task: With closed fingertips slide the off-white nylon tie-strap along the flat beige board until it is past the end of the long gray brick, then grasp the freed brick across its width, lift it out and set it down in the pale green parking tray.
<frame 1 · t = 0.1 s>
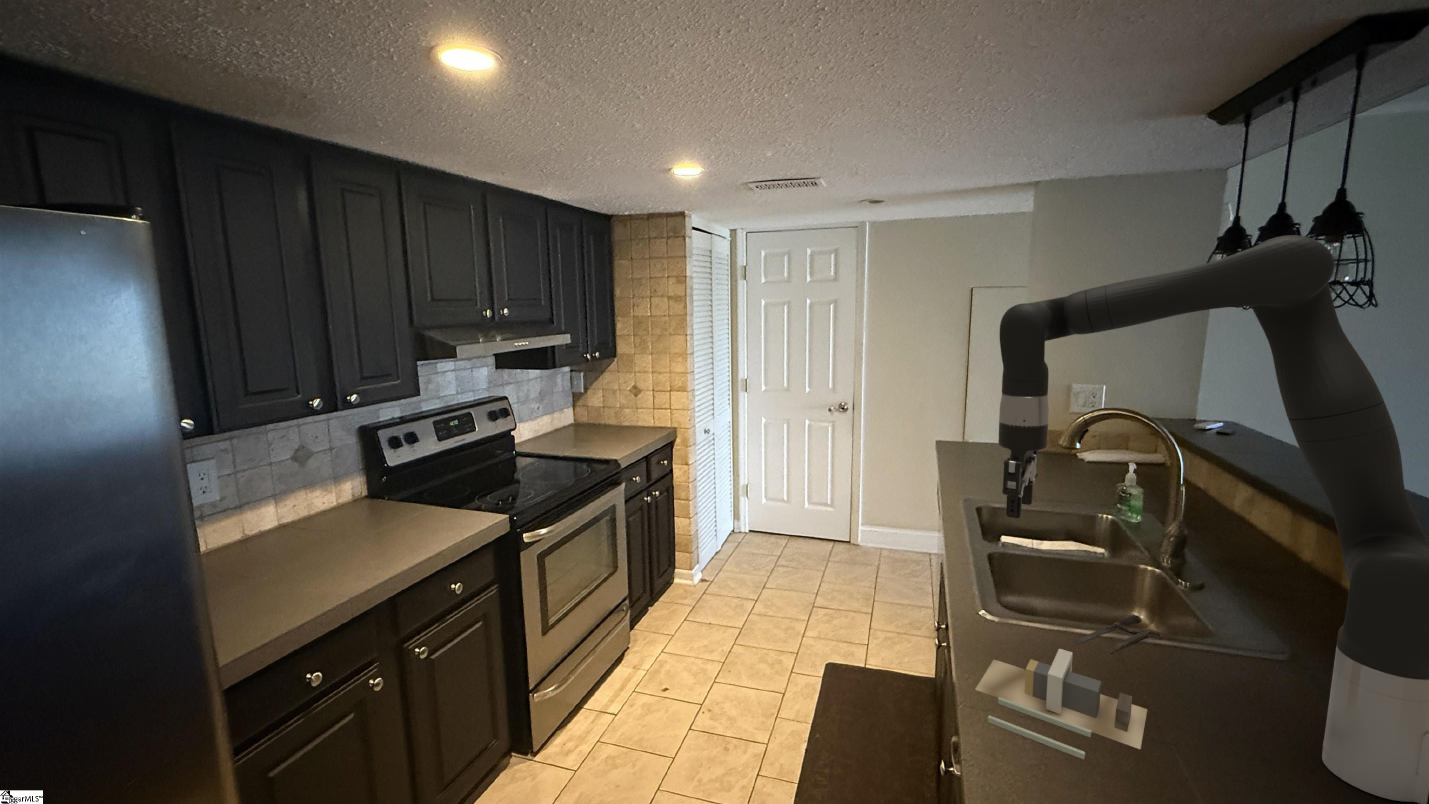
hand: (1019, 510, 105), 29 cm above the countertop, fingers open, 8 cm apart
flat beige board: (1058, 702, 98), on the countertop
long gray brick: (1065, 701, 98), point 1 cm above the countertop, touching flat beige board
strap: (1059, 680, 98), point 4 cm above the countertop, slide at 0.0 cm
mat: (1038, 731, 92), on the countertop
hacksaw: (1121, 646, 114), on the countertop
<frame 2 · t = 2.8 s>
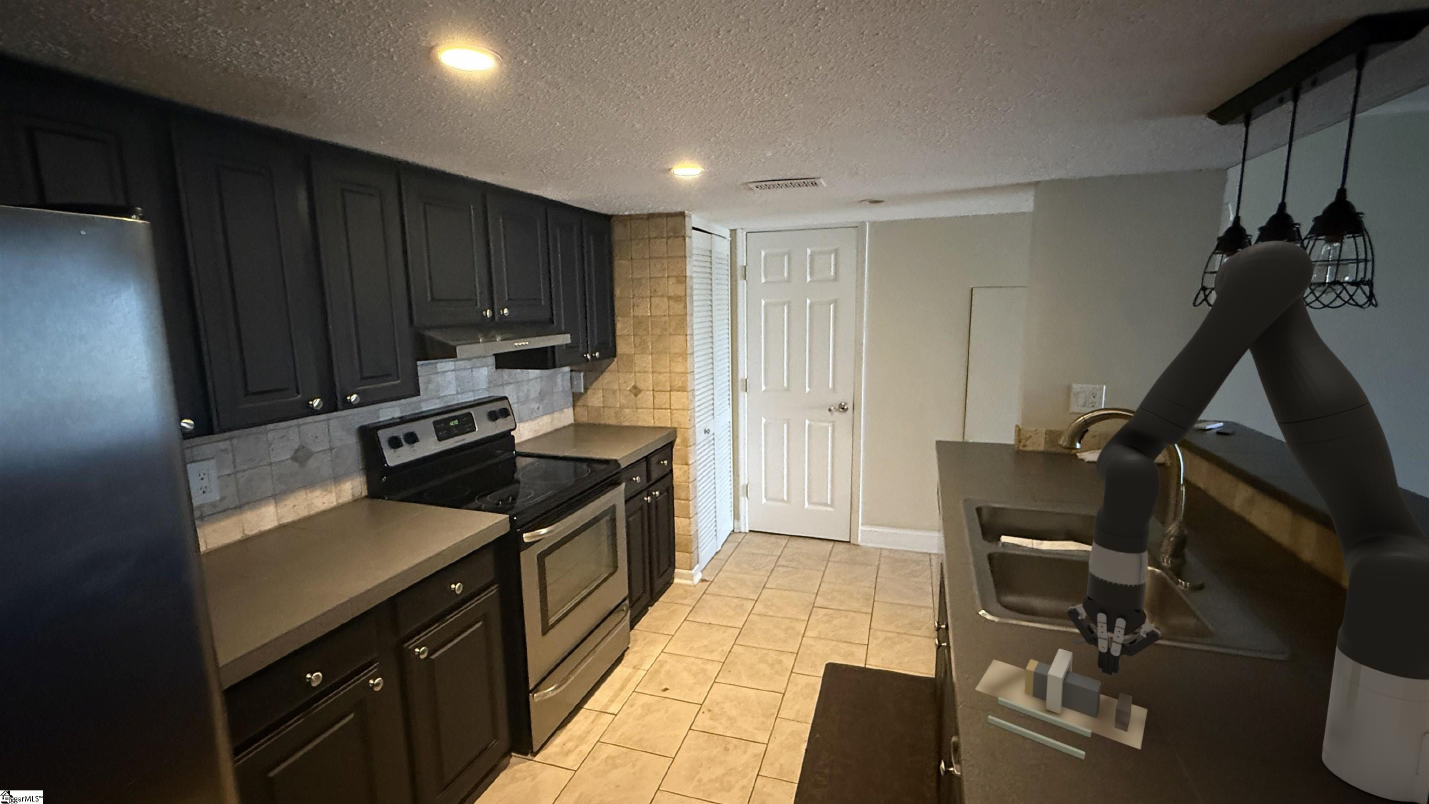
hand: (1107, 671, 97), 6 cm above the countertop, fingers closed
nothing on the countertop moved.
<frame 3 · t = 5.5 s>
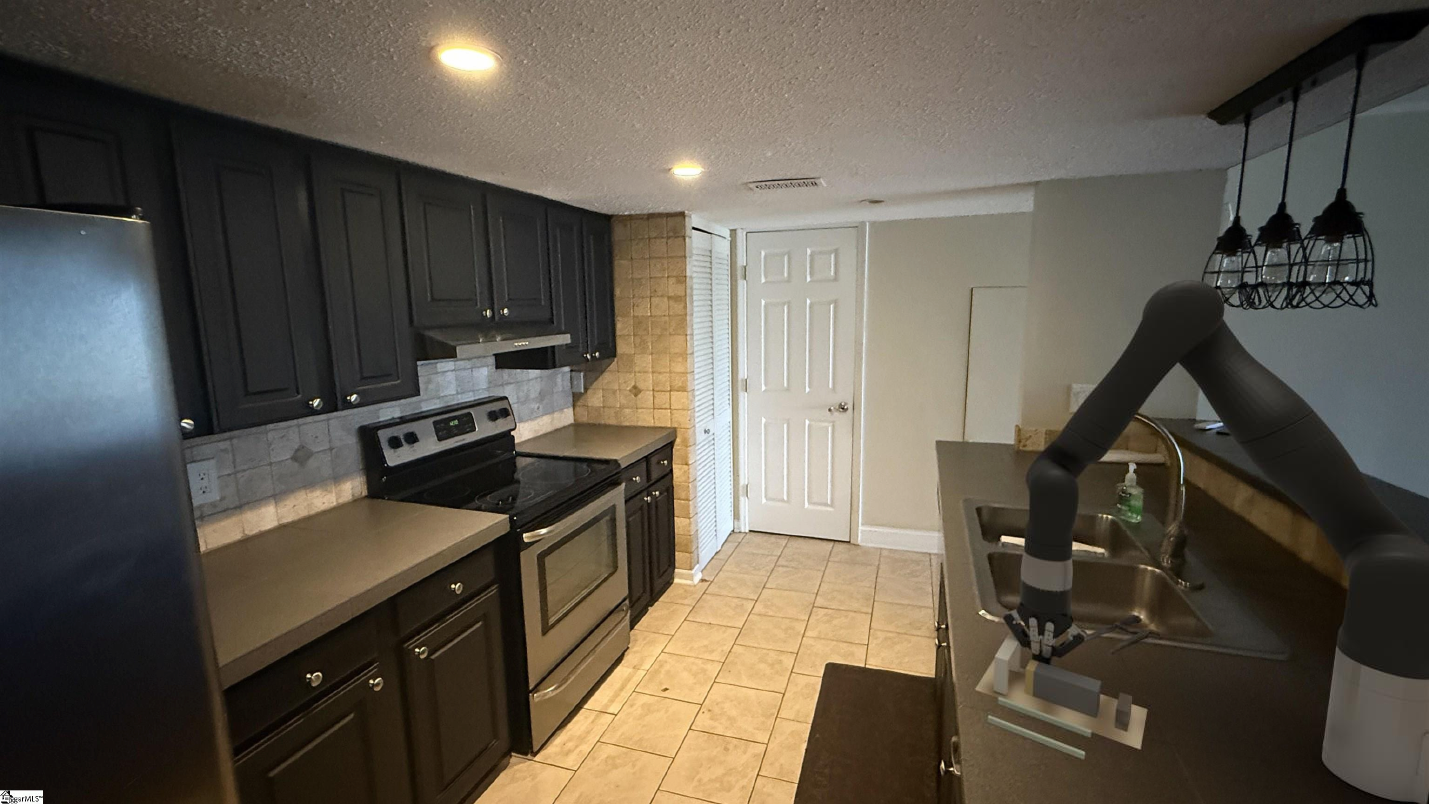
hand: (1041, 672, 103), 2 cm above the countertop, fingers closed
strap: (1007, 663, 103), point 4 cm above the countertop, slide at 7.9 cm, touching hand
everything else where it was.
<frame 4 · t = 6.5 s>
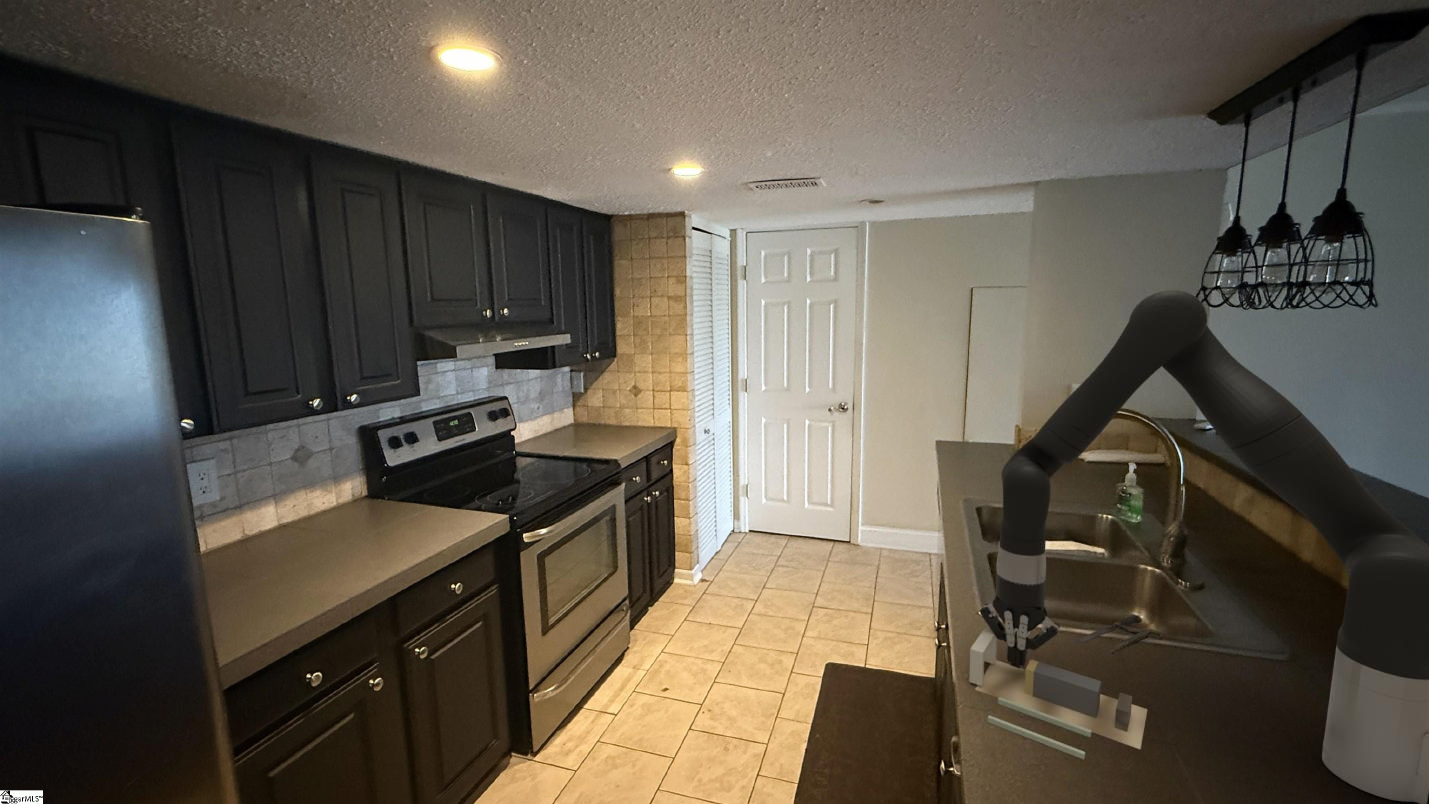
hand: (1016, 664, 106), 2 cm above the countertop, fingers closed
strap: (983, 655, 105), point 4 cm above the countertop, slide at 11.8 cm, touching hand
everything else where it was.
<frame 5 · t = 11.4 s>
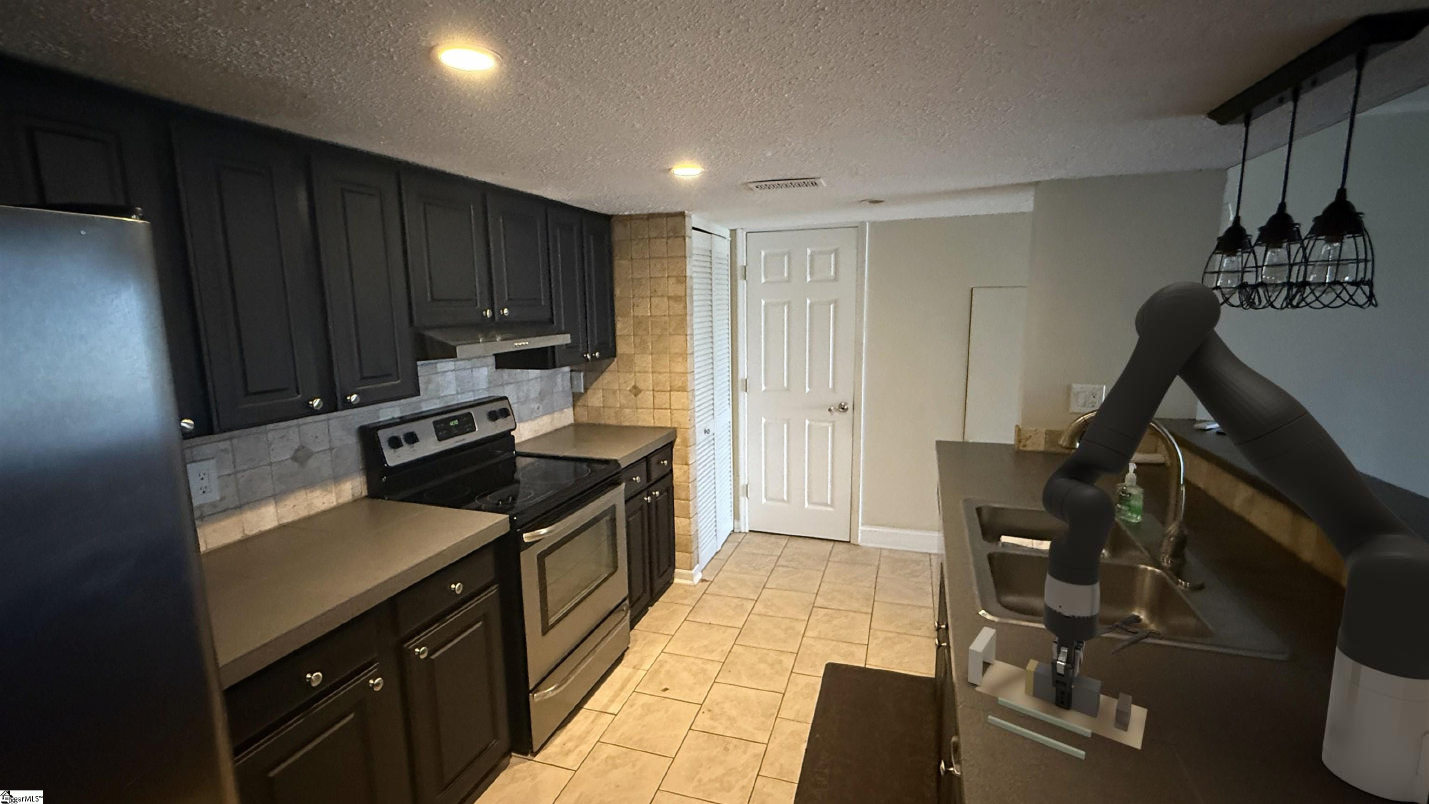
hand: (1065, 700, 98), 1 cm above the countertop, fingers closed on long gray brick, 3 cm apart
long gray brick: (1065, 701, 98), point 1 cm above the countertop, touching gripper, flat beige board
strap: (982, 655, 105), point 4 cm above the countertop, slide at 12.0 cm
everything else where it was.
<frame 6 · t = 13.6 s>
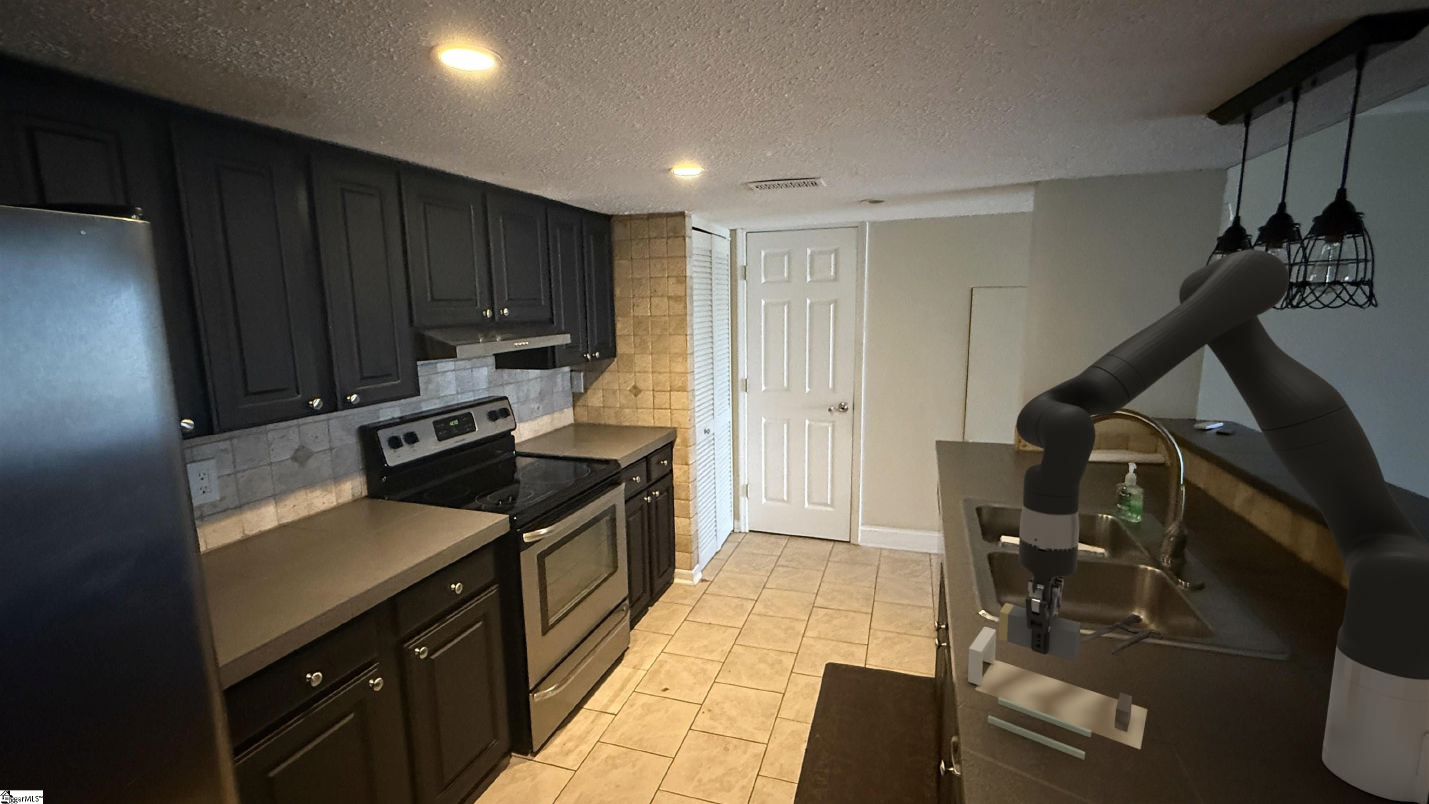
hand: (1042, 645, 90), 14 cm above the countertop, fingers closed on long gray brick, 3 cm apart
long gray brick: (1042, 646, 90), point 14 cm above the countertop, touching gripper
everything else where it was.
when the fingers open (2 cm above the countertop, at t = 16.1 s): long gray brick drops 1 cm, resting on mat.
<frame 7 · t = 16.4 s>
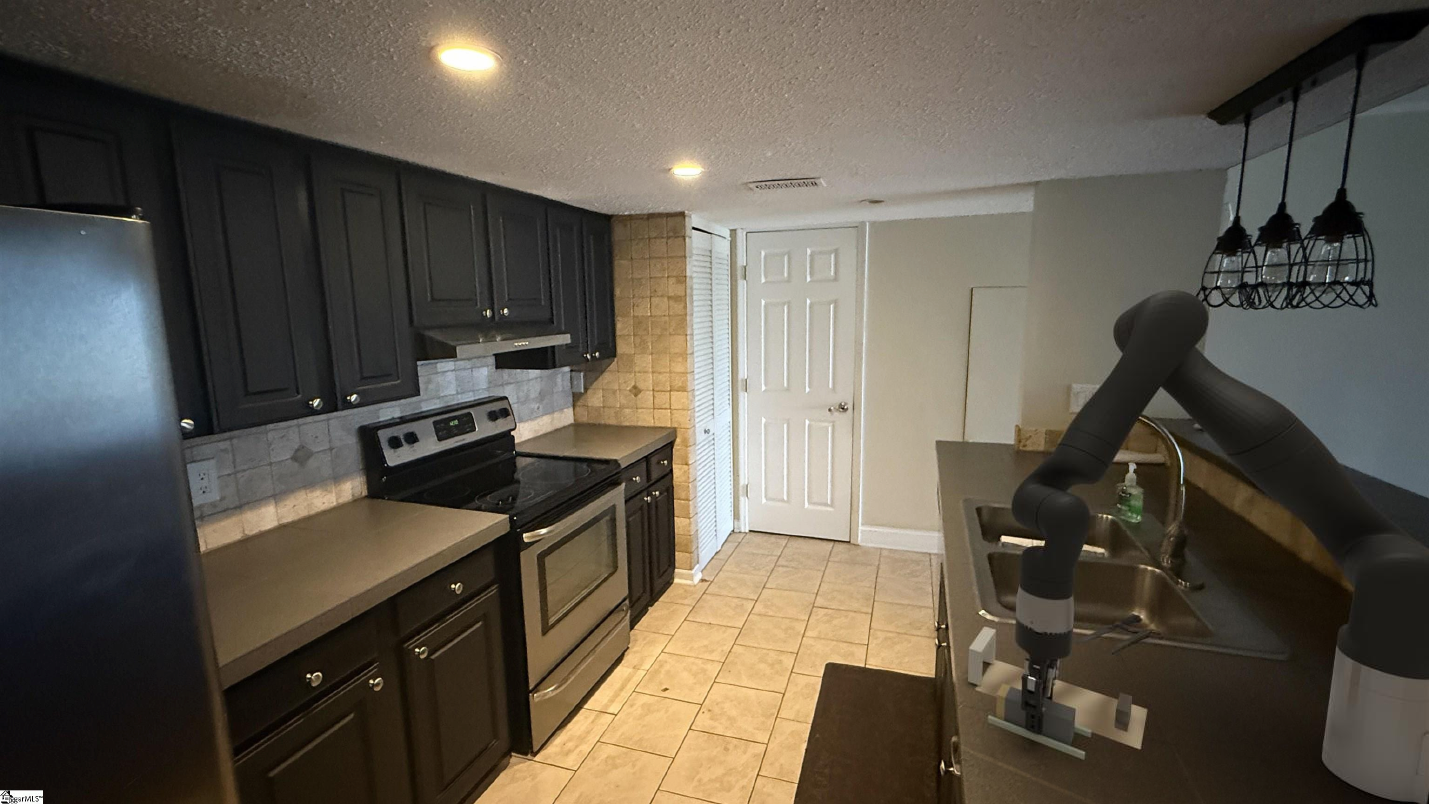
hand: (1038, 718, 91), 2 cm above the countertop, fingers open, 6 cm apart
long gray brick: (1038, 729, 92), resting on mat
everything else where it was.
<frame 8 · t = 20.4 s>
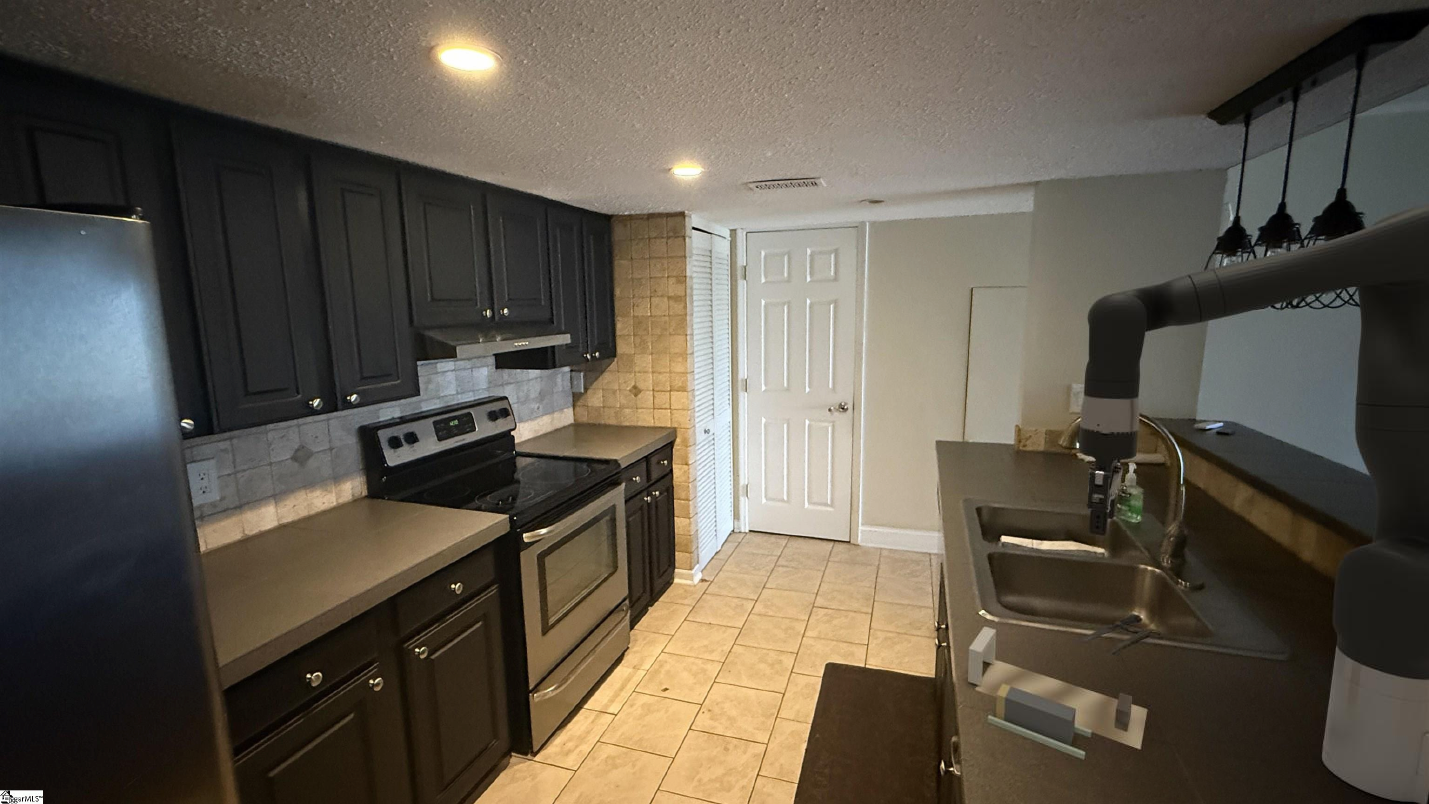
hand: (1102, 525, 94), 30 cm above the countertop, fingers open, 8 cm apart
nothing on the countertop moved.
at the end: strap slide at 12.0 cm; long gray brick inside the target area on the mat (0.0 cm from its centre), point 0.4 cm above the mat's base; the gripper is holding nothing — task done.
